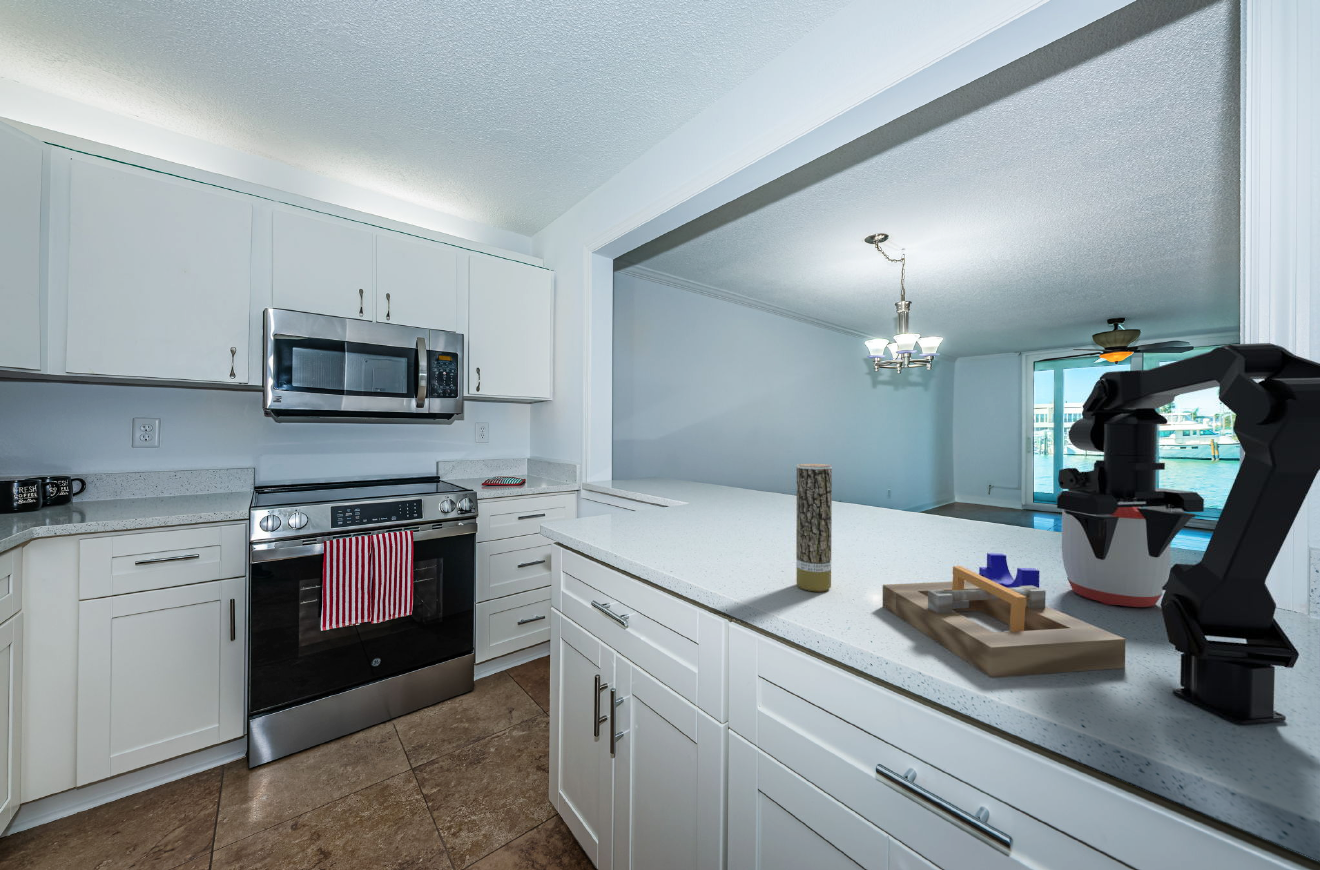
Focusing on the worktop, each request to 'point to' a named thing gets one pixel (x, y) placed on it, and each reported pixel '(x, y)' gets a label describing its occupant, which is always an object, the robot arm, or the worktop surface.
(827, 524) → the paper tube
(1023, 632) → the wooden picture frame
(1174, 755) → the worktop surface
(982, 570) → the cable clip
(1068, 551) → the citrus juicer
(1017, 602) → the orange staple arch
